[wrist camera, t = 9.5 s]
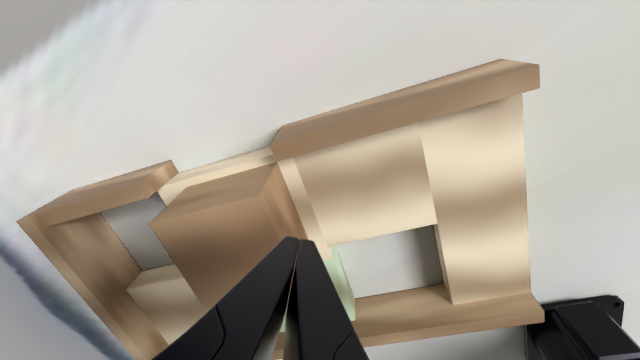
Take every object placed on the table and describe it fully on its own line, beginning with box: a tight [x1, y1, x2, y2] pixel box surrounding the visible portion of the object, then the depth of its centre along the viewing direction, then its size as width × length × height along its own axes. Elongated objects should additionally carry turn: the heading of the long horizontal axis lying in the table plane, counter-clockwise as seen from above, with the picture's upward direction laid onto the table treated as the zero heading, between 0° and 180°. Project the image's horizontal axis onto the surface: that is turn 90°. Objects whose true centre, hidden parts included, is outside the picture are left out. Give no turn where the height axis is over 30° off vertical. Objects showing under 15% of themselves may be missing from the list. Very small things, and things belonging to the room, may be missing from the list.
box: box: [16, 59, 545, 360], centre depth 20 cm, size 16×29×4 cm, turn 108°
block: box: [149, 162, 309, 309], centre depth 17 cm, size 6×6×4 cm
